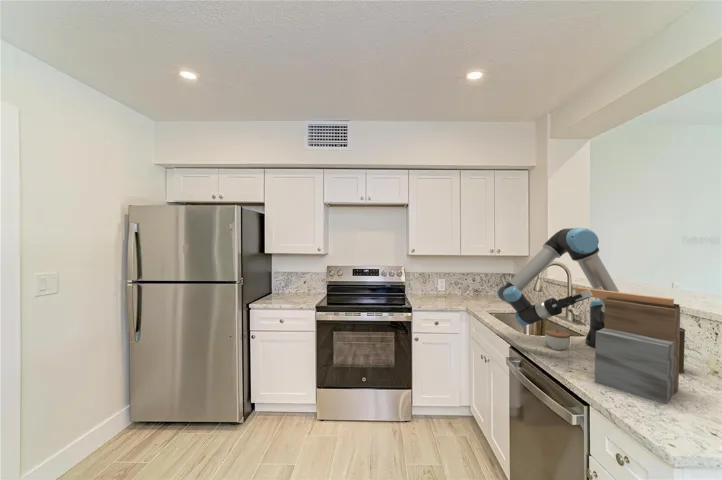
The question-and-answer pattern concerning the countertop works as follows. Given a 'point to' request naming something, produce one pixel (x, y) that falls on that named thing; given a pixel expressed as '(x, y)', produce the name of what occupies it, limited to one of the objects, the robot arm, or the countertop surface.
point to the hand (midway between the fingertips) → (596, 290)
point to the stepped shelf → (639, 348)
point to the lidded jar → (557, 339)
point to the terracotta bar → (627, 296)
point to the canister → (681, 350)
